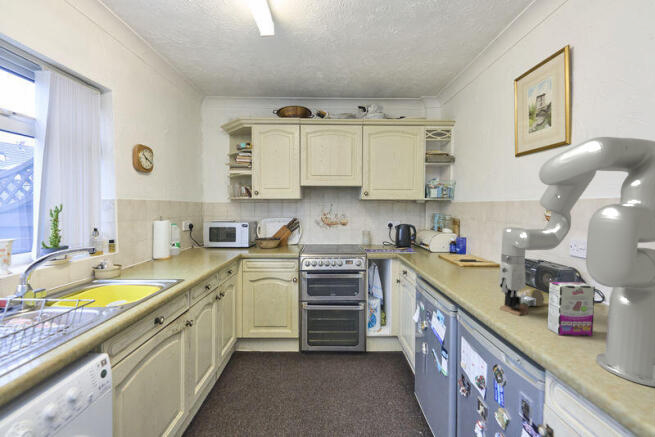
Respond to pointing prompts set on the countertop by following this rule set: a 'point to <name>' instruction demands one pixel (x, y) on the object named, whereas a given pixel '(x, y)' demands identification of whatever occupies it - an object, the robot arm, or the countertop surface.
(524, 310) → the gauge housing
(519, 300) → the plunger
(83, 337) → the countertop surface
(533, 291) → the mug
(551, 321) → the candy bar box
